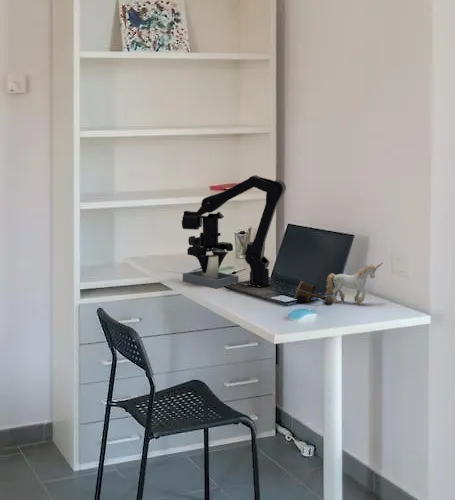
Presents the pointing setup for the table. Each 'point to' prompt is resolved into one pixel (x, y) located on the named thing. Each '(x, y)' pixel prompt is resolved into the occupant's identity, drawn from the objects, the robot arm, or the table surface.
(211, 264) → the ceramic cup
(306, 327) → the table surface
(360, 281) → the unicorn figurine
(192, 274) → the desk tray
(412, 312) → the table surface
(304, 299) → the brown wooden mallet
